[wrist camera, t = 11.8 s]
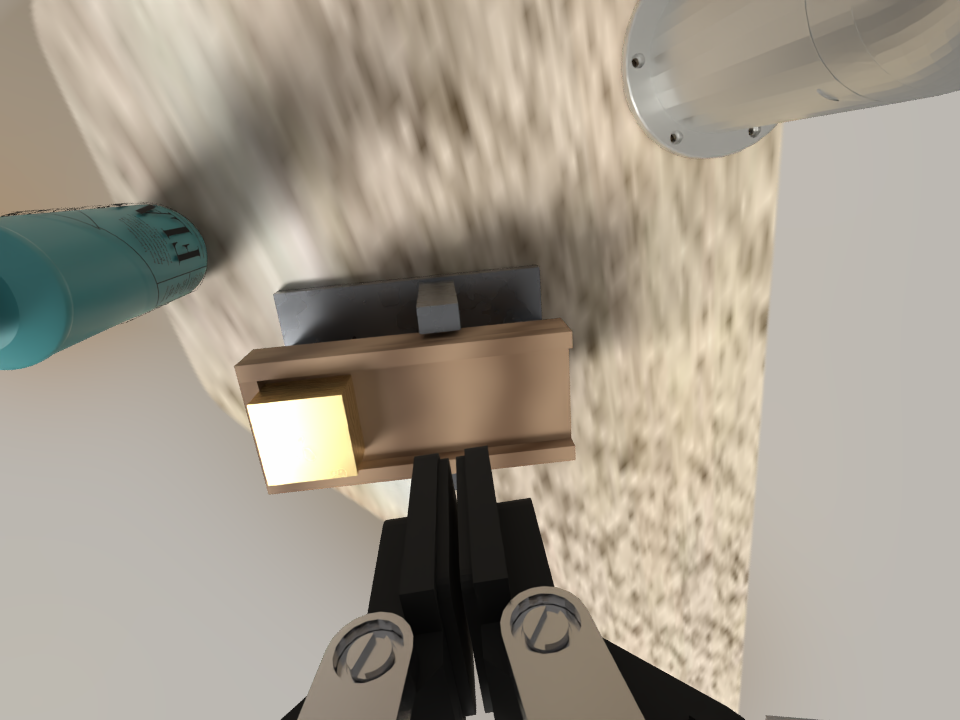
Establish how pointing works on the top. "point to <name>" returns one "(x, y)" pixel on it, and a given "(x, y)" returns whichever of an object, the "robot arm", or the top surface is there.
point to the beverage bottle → (89, 274)
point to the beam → (438, 395)
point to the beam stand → (409, 306)
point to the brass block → (308, 429)
